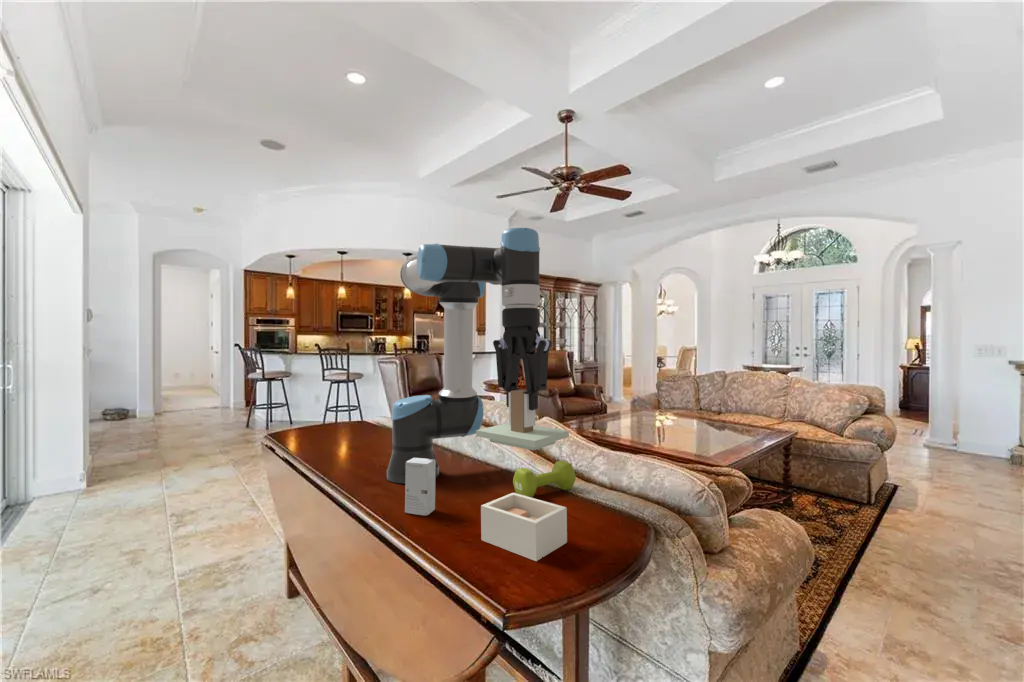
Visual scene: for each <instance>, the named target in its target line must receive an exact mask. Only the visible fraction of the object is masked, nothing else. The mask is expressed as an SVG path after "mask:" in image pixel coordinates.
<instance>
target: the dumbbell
mask: <svg viewBox="0 0 1024 682" xmlns="http://www.w3.org/2000/svg"><path fill="white" fill-rule="evenodd" d="M576 478H577V476H576V473H575V470H574V467H573V465H572V464H571V463H570V462H568V461H566V460H558V461H556V462H555V463H554V464H553V467H552V469H551V471H550V472H544V473H540V474H539V473H538V474H536V475H535V474H534V471H532V470H531V469H528V468H525V467H521V468H517V469H516V471H515V473H514V475H513V479H512V484H513V487H514V491H515V492H514V493H517V494H520V495H524V496H527V497H531V498H534V496H535V494H536V492H537V488H538V487H539V488H540V487H543V486H544V487H545V486H548V485H552V484H554V486H555V487H556V488H558V489H560V490H563V491H569V490H571V489H573V487H574V484H575V482H576ZM572 486H573V487H572Z"/></svg>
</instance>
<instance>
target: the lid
mask: <svg viewBox="0 0 1024 682" xmlns="http://www.w3.org/2000/svg"><path fill="white" fill-rule="evenodd" d="M524 391H527V389H522V388H521V389H520V388H519V389H518V390H513V391H510V396H511V425H509V422H506V423H503V424H502V423H501V424H497V425H494V426H489V427H485V428H480V429H479V430H476V434H475V436H476V437H479V438H483V439H489V443H493V444H500V445H503V446H508V447H515V448H518V449H523V450H529V451H536V450H538V449H542V448H546V447H548V446H551V445H555V444H556V443H557V441H561V440H564V439H567V438H569V437H570V430H565V429H560V428H554V427H548V426H547V427H546V426H539V425H535V426H531V427H524V394H525V392H524Z"/></svg>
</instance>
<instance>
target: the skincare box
mask: <svg viewBox="0 0 1024 682" xmlns="http://www.w3.org/2000/svg"><path fill="white" fill-rule="evenodd" d="M436 460H437V459H436ZM436 460H433V459H425V458H412V459H410V460H408V461H407V462H406V472H405V485H404V486H405V487H404V489H405V490H404V493H405V496H404V503H405V504H404V513H405V514H411V515H416V516H417V515H418V516H423V517H424V516H428V515H430V514H431V513H432V512H434V511H435V510H436V478H435V469H436Z"/></svg>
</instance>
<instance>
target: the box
mask: <svg viewBox="0 0 1024 682" xmlns="http://www.w3.org/2000/svg"><path fill="white" fill-rule="evenodd" d="M567 511H568V509H567V506H564V505H563V506H562V505H559V504H556V503H553V502H550V501H549V502H548V501H546V500H541V499H537V498H534V497H532V498H531V497H527V496H524V495H520V494H517V493H516V492H511V493H507V494H506V495H504V496H502V497H499V498H497V499H492V500H491V501H488V502H486V503H484V504H481V505H480V532H481V533H480V535H481V536H480V539H481V541H482V542H485V543H488V544H491V545H493V546H496V547H498V548H501V549H503V550H506V551H508V552H511V553H514V554H516V555H519V556H521V557H524V558H526V559H529V560H532V561H535V562H538V561H539V560H541V559H543V558H544V557H546V556H547V555H549V554H551V553H552V552H554V551H555V550H558V549H559V548H561V547H562V546H564V545H565V544H567V543H568V531H567V530H568V525H567V524H568V521H567V520H568V517H567V516H568V514H567V513H568V512H567ZM542 557H543V558H542Z"/></svg>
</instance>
